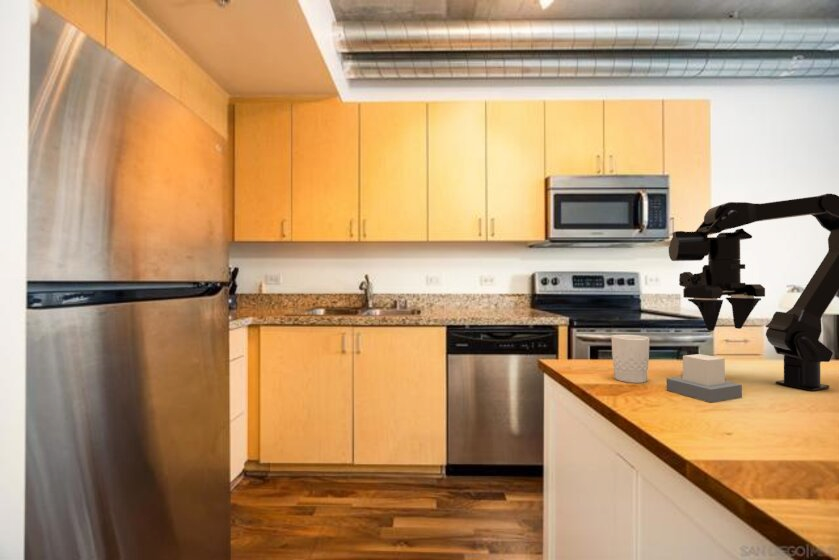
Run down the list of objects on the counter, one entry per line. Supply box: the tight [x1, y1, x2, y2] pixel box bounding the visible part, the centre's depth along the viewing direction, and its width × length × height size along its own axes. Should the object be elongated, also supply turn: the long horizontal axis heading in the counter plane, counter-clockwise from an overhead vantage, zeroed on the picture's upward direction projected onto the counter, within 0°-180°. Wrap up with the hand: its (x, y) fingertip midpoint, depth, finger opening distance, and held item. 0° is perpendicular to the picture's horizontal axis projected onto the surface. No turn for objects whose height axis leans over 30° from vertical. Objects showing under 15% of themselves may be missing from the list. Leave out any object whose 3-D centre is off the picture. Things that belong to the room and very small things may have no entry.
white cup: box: [611, 334, 651, 384], centre depth 92 cm, size 8×8×10 cm
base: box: [666, 375, 743, 403], centre depth 81 cm, size 9×9×2 cm
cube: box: [682, 353, 726, 386], centre depth 80 cm, size 5×5×5 cm
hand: (724, 329), depth 89 cm, fingers open, 9 cm apart
